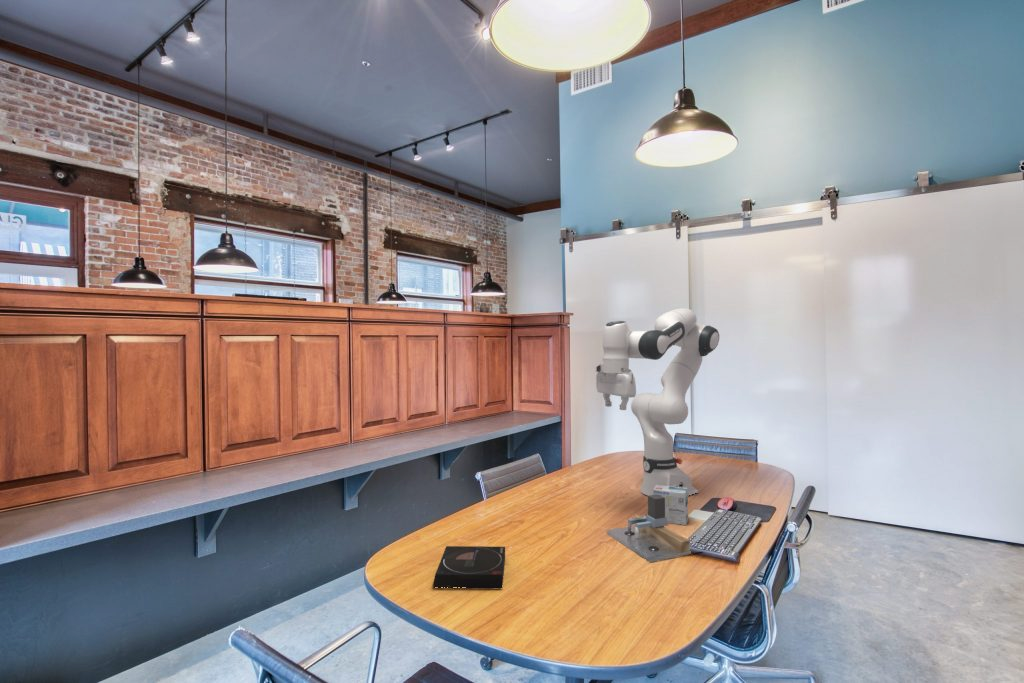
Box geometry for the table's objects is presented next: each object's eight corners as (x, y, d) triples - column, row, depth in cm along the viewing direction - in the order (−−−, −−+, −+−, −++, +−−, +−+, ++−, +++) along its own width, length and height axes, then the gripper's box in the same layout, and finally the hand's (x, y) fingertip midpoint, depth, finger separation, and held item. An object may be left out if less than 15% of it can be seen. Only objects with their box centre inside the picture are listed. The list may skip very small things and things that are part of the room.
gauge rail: (642, 524, 159) (642, 511, 159) (689, 551, 139) (689, 536, 139) (619, 528, 156) (619, 514, 156) (663, 556, 136) (663, 541, 136)
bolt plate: (654, 525, 161) (654, 521, 161) (702, 552, 140) (702, 548, 140) (606, 533, 155) (606, 529, 155) (649, 562, 134) (649, 558, 134)
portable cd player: (444, 560, 137) (444, 546, 137) (505, 561, 137) (505, 546, 137) (432, 590, 121) (432, 574, 121) (502, 591, 120) (502, 574, 120)
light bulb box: (688, 519, 167) (688, 487, 166) (686, 526, 160) (686, 492, 160) (655, 514, 171) (655, 483, 171) (652, 521, 165) (652, 489, 165)
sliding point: (658, 530, 153) (658, 494, 153) (666, 535, 149) (666, 497, 149) (631, 535, 150) (631, 497, 150) (639, 540, 146) (639, 501, 146)
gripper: (641, 369, 161) (640, 411, 161) (608, 366, 180) (608, 404, 180) (624, 369, 159) (624, 412, 159) (593, 366, 178) (592, 405, 178)
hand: (615, 408), depth 169 cm, fingers open, 8 cm apart
